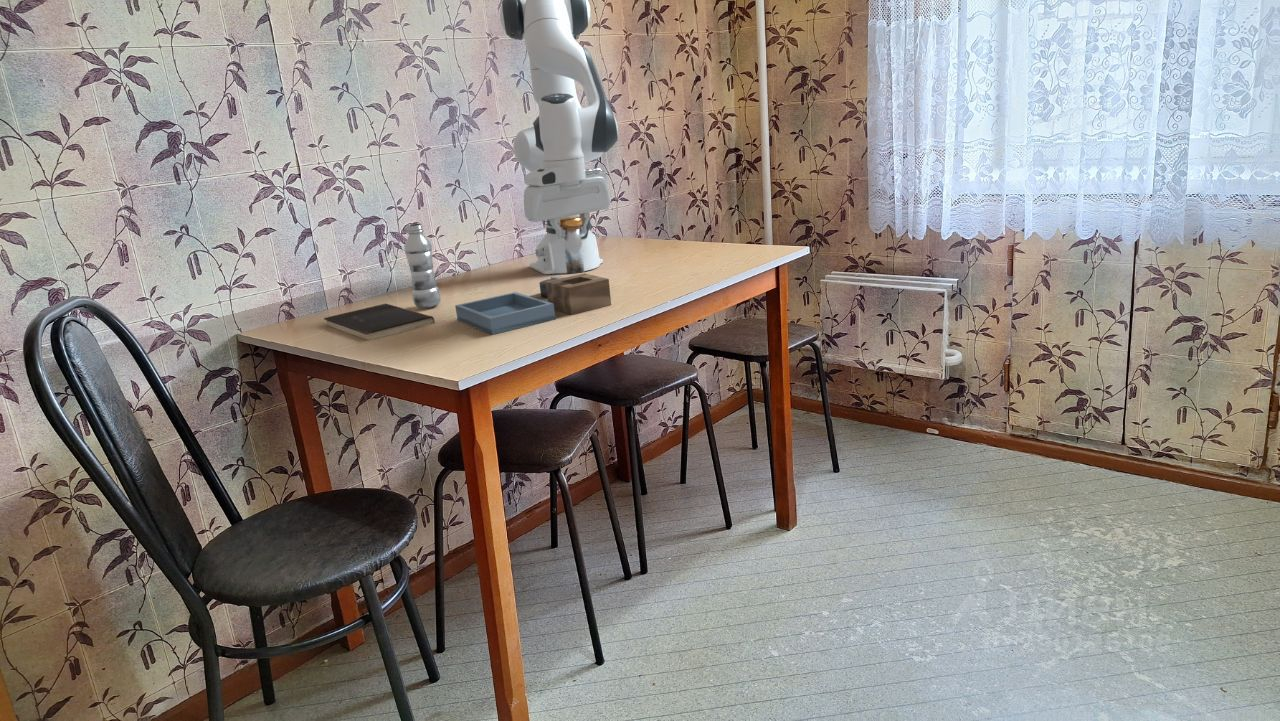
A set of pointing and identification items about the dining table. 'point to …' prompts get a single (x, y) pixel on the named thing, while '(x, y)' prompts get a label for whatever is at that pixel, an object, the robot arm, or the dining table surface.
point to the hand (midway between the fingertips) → (571, 235)
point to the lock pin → (573, 244)
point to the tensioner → (575, 293)
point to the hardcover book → (378, 321)
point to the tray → (505, 312)
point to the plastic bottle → (421, 267)
